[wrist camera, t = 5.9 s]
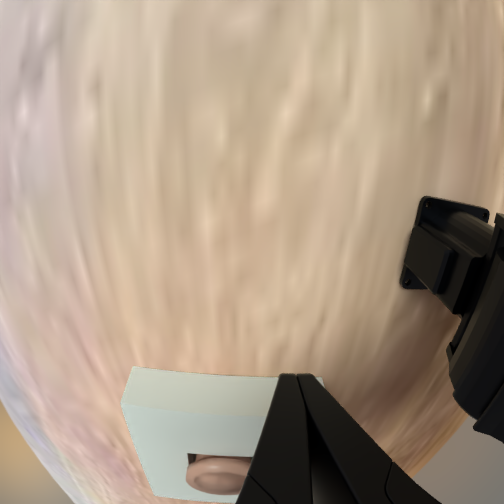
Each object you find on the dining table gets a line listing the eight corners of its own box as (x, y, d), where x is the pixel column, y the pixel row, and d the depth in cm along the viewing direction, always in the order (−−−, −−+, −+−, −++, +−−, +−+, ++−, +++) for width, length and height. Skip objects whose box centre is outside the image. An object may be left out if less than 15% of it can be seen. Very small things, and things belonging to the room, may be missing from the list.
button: (261, 431, 25) (264, 468, 21) (254, 463, 27) (256, 495, 24) (187, 427, 24) (183, 464, 21) (191, 460, 27) (188, 492, 23)
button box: (321, 377, 24) (331, 414, 20) (285, 474, 31) (288, 502, 27) (133, 366, 23) (120, 402, 19) (158, 468, 30) (154, 495, 26)
